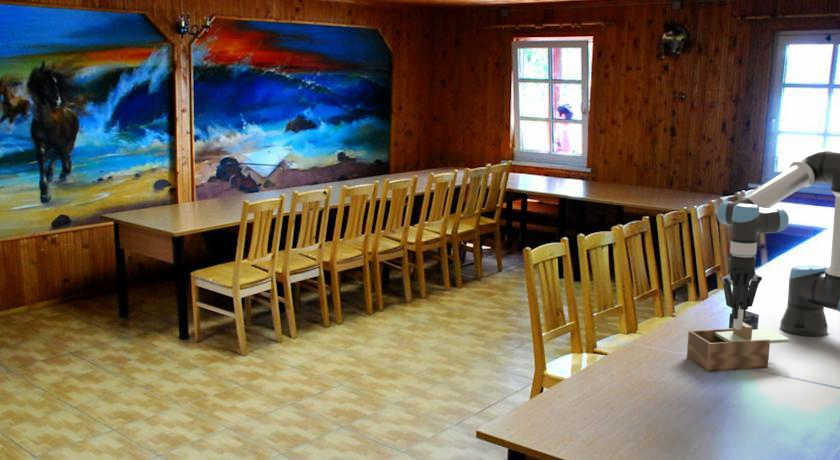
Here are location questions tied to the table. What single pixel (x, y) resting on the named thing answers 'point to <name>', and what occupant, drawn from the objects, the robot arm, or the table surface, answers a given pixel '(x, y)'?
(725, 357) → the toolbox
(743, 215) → the robot arm
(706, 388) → the table surface
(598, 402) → the table surface
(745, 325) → the lid
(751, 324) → the box
